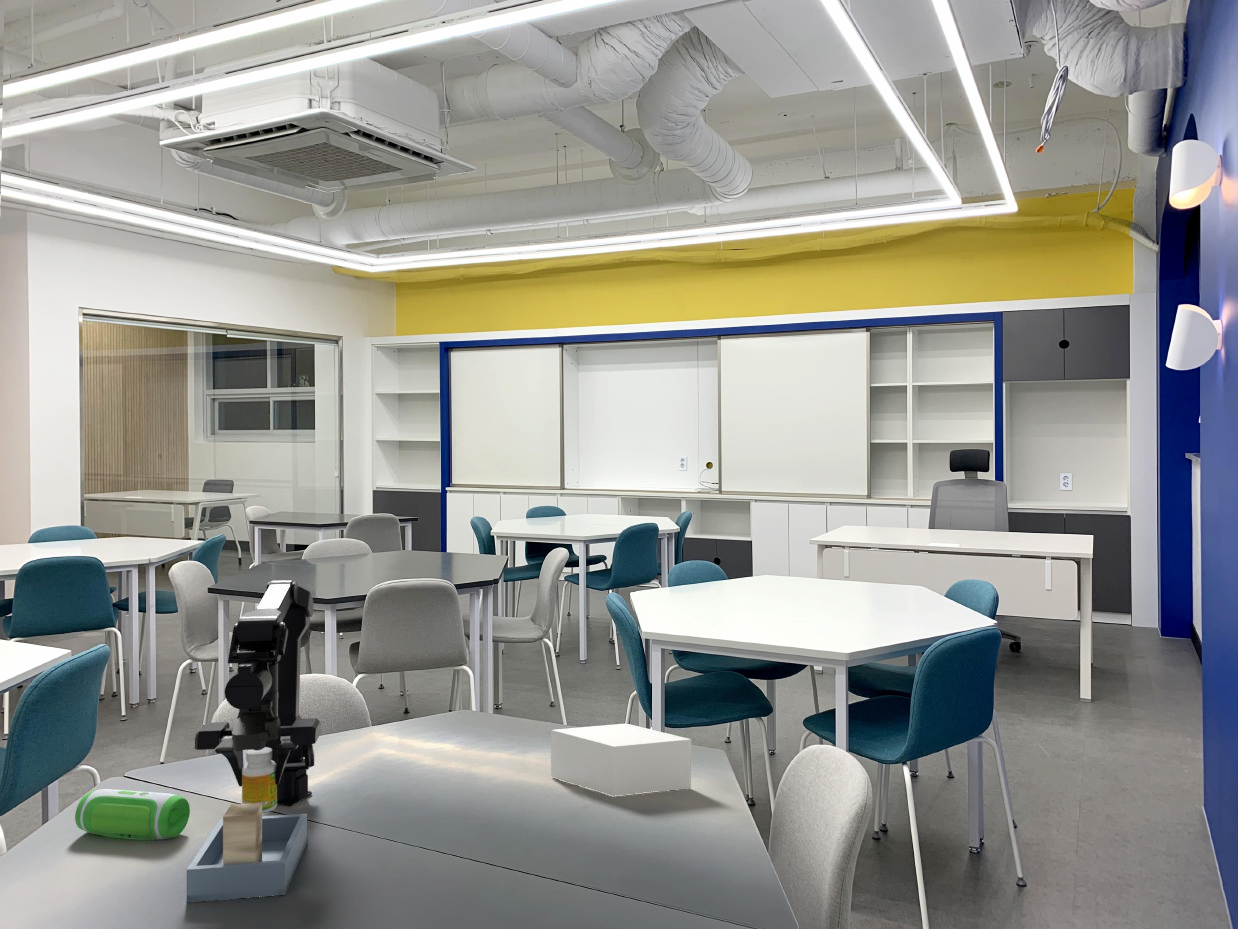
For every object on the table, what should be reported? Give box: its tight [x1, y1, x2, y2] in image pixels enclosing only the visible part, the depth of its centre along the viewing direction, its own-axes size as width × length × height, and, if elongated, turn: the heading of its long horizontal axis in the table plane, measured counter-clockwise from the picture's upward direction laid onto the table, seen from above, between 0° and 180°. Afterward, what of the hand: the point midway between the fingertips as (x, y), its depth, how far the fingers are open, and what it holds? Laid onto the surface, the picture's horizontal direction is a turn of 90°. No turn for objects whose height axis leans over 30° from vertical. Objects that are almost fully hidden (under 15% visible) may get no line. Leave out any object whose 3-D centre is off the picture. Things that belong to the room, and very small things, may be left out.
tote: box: [186, 813, 308, 904], centre depth 140 cm, size 18×14×5 cm
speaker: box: [74, 788, 191, 841], centre depth 153 cm, size 18×7×8 cm, turn 81°
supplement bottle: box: [241, 747, 278, 815], centre depth 145 cm, size 5×5×10 cm
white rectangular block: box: [550, 723, 692, 796], centre depth 178 cm, size 14×29×10 cm, turn 80°
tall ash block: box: [222, 803, 263, 864], centre depth 135 cm, size 5×5×11 cm
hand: (259, 784), depth 145 cm, fingers closed on supplement bottle, 5 cm apart
